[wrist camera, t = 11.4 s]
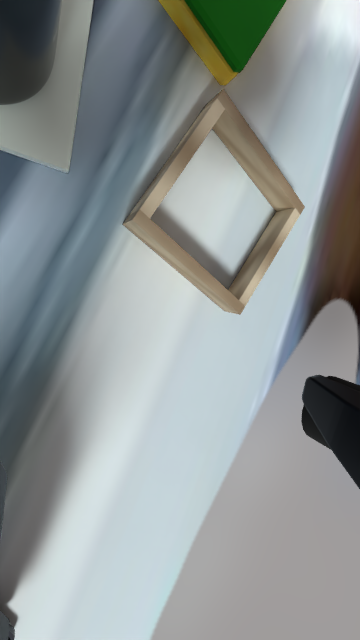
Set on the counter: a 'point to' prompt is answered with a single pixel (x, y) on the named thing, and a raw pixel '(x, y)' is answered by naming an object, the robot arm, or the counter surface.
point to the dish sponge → (223, 30)
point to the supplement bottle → (26, 47)
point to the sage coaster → (52, 98)
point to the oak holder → (262, 173)
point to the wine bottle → (309, 423)
